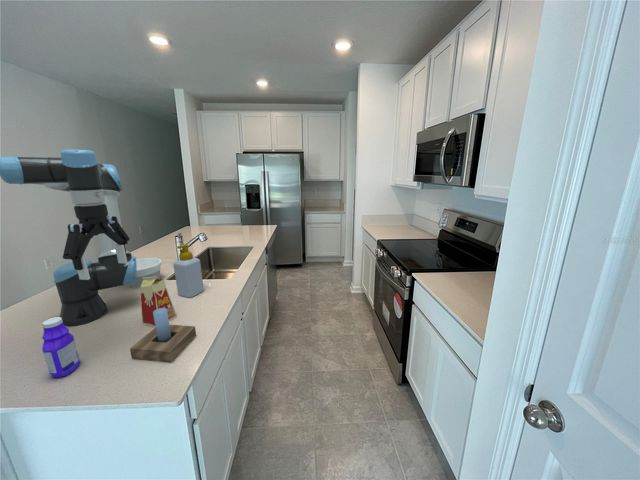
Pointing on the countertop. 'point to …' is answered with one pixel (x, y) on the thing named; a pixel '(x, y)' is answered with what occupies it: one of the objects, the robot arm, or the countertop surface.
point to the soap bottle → (188, 273)
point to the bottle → (59, 348)
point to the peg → (162, 325)
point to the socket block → (163, 344)
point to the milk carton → (155, 300)
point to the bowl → (146, 270)
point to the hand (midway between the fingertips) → (105, 270)
